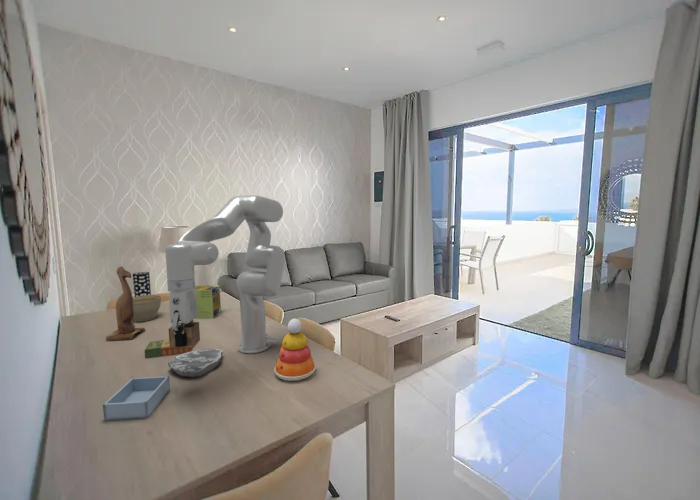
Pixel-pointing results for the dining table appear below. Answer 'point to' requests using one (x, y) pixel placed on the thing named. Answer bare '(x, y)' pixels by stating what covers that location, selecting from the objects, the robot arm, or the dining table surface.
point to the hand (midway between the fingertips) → (185, 341)
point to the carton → (163, 349)
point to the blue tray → (136, 398)
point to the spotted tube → (141, 284)
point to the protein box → (208, 301)
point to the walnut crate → (191, 332)
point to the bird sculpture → (124, 311)
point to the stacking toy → (294, 355)
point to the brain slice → (196, 362)
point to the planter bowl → (146, 307)
